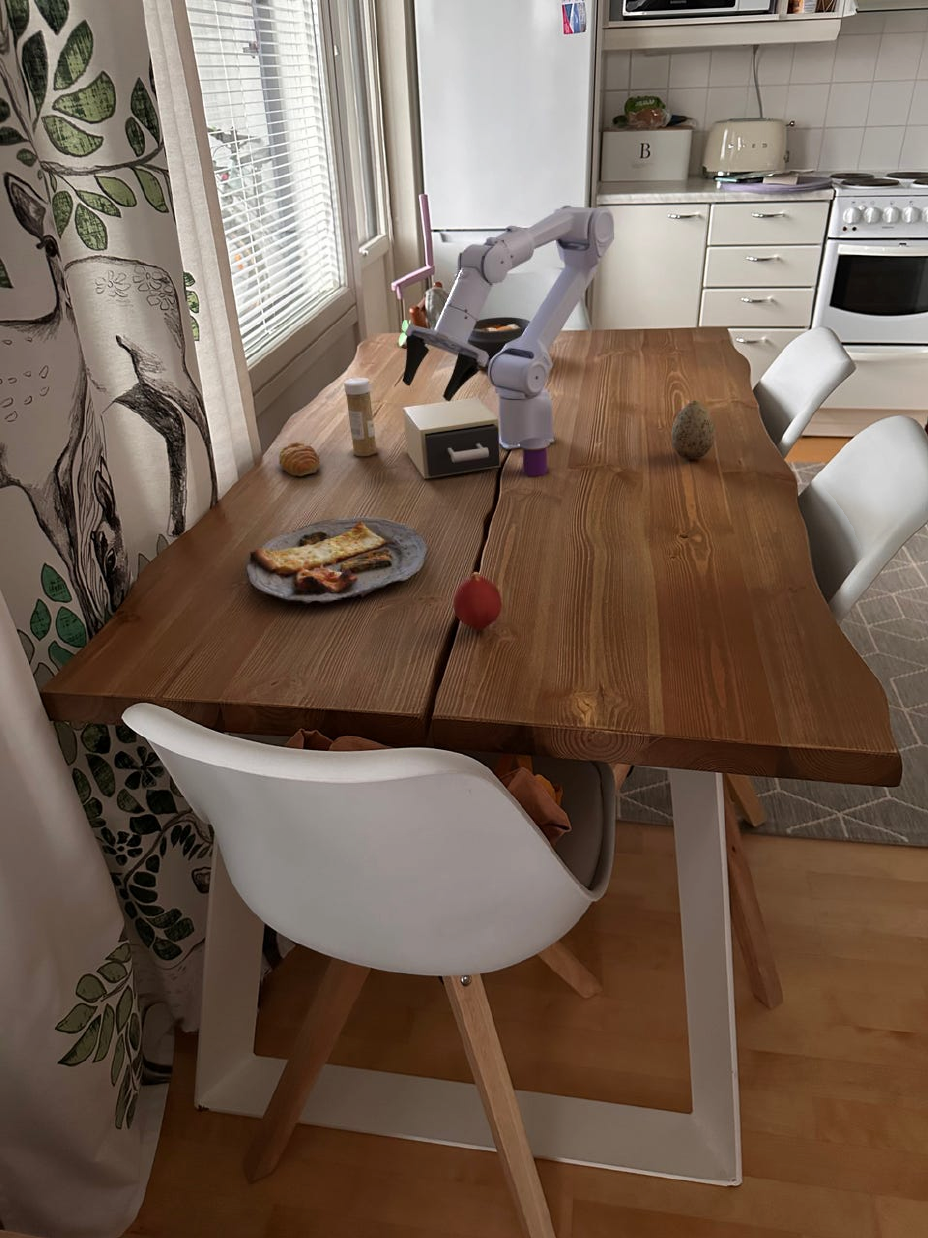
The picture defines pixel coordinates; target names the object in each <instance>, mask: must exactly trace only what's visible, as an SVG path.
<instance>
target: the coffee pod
mask: <svg viewBox="0 0 928 1238" xmlns="http://www.w3.org/2000/svg"><path fill="white" fill-rule="evenodd" d="M550 446H551V443H550V442H549V441H548V440H546V439H542V438H530V439H525V440H523V441H521V442H520V443H519V447H520V449H522V471H523V474H524V475H525V476H529V477H540V476H543V475H546V474H547V472H548V455H547V453H548V452H547V449H548V448H549V447H550Z"/></svg>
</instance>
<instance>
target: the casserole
mask: <svg viewBox="0 0 928 1238" xmlns="http://www.w3.org/2000/svg"><path fill="white" fill-rule="evenodd" d="M530 322H531V320H529V319H526V318H520V317H511V316H510V317H509V316H508V317H507V316H504V317H501V316H500V317H490V318H489V317H488V318H484V319H479V320H477V321H476V324H475V326H474V328H473V330H472V332H471V335H470V337H469V339H468V341H467V344H469V345H471V346H473V347H476V348H478V349H480V350H482V351H485V352H487V354H488V355H489V358H488V360H487V363H486V365H485V367H489V364H490V361H491V360H492V358H493V357H494V356H495V355H496V354H497V353H499V352H500V351H501V350H502V349H503V348H504V346H505V345H506V344H507V343H509V342H511V341H513V340H515V339H517V338H519V337H521V336H522V334H523V333H524V331H525V330H526V328H527V326H528V325H529V323H530ZM478 367H481V366H480V365H478Z"/></svg>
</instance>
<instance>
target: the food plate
mask: <svg viewBox="0 0 928 1238" xmlns="http://www.w3.org/2000/svg"><path fill="white" fill-rule="evenodd" d="M427 551H428V548H427V544H426V541H425V538H423V536H422V535H421V534H419V533H418V532H417V531H415V529H413V528H412V527H411V526H409V524H405V523H400V522H397V521H393V520H391V519H385V518H379V517H368V516H367V517H365V516H363V517H362V516H361V517H359V516H358V517H353V518H352V517H351V518H336V519H335V518H331V519H325V520H322V521H318V522H314V523H311V524H308V525H304V526H302V527H299V528H296V529H293V530H291V531H288V532H286V533H283V534H282V533H281V534H280V535H277V536H275V537H274V538H272V539H270V540H269V541H267V542H266V543H264V544H263V545H262V546H261V547H260V548H259V547H258V548H254V550H251V551H250V552H249V560H248V564H247V565H246V568H245V572H246V573H245V574H246V577H247V579H248V582H249V584H250V586H251V587H252V588H253V589H254V590H255V591H257V592H259V593H262V594H264V595H268V596H272V597H275V598H278V599H279V600H281V601H282V602H286V601H287V602H290V603H293V602H294V603H295V602H297V603H298V606H300V605H301V602H302V603H303V604H310V603H312V602H314V601H318V603H320V604H325V603H330V602H333V601H335V600H336V601H337V600H338V599H339V600H342V599H343V598H353V597H357V596H358V595H360V597H361V598H362V597H364V596H366V595H367V594H370V593H371V592H373V591H375V590H377V589H380V588H384V587H386V586H387V585H389V584H394V583H395V582H403V581H404V582H405V581H406V580H409V578H411V577H412V576H413V575H415V574H416V573H417V572H419V571H420V570H421V568H422V567H423V566H424V562H425V559H426V558H425V556H426V553H427ZM300 601H301V602H300Z"/></svg>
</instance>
